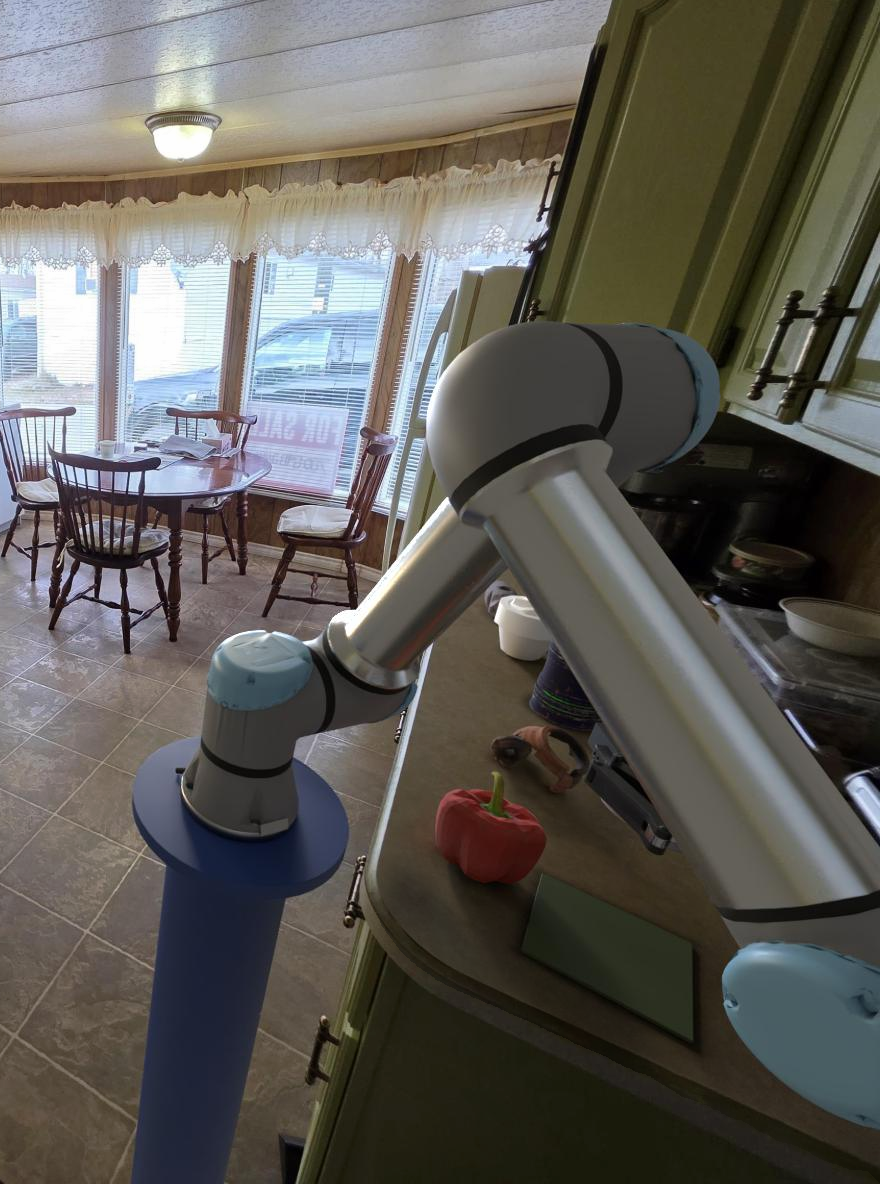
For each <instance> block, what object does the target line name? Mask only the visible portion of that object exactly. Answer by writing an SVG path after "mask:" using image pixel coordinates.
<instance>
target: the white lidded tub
mask: <svg viewBox="0 0 880 1184" xmlns="http://www.w3.org/2000/svg"><path fill="white" fill-rule="evenodd" d="M493 622H494V623H495V624H497V625H498V632H499V633H498V635H499V645H500V650H502V651H503V653H505V654H506V655H507V656H510V657H512V658H513V659H517V660H521V661H530V662H533V661H537V660H541V659H542V657H543V656H544V655H545V654H546V653H548V648H549V647H550V645H551V640H552V638H551V637H550V635H549V633H548V632H547V630H546V628H545V627H544V625H543V624H542V622H541V620H540V619H539V617H538V615H537V614H536V612H535V610H534V609H533V607H532V606H531V604H530V602H529V601H528V599H527V597H526V596H525V595H518V596H507V597H503V598H501V600H500V603H499V606H498V610H497V613H496V616H495V619H493Z"/></svg>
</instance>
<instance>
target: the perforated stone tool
mask: <svg viewBox="0 0 880 1184" xmlns="http://www.w3.org/2000/svg"><path fill="white" fill-rule="evenodd" d="M507 596H519V595H518V593H517V592H516V590H515V589H514V588H513V587H512V586H511V585H509V584H508V583H507V582H505V581H503V580H496V581H495V582H494V583H493V584H492V585H491V586H490V587H489V588H488V589H487V590H486V591H485V592H484V604H485V606H486V607H485V608H486V610H487V613H488V614H489V615H490V617H491V618H492V619H493V620H495V616H496V613H497V610H498V606H499V603H500V600H501V598H503V597H507Z"/></svg>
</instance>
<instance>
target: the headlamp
mask: <svg viewBox="0 0 880 1184" xmlns="http://www.w3.org/2000/svg"><path fill="white" fill-rule="evenodd" d="M548 737H551V738H553V739H556V740H558V741H560V742H562V743H564V744H566V745H568V749H569V752H568V755H569V756H570V757H572V758H573V759H574V761H575V764H576V767H577V768H574V769H573V770H572V771H571V772H570V766H569V765H568V764H566V763H565V762H564V761H563V760H561V759H560V758H559V757H558V755H557V754H556V753H555V752H554V751H553V749H552V747H551V746H550V743H549V740H548ZM490 750H491V753H492V755H493V757H494V759H495V760H496V761H497V762H499V763H500V764H501V766H503V767H504V768H506V769H507V770H509V769H511V768H513V766H514V765H515V764H516V763H518V762H520V761H521V760H523V759H527V758H528V757H529V755H530V754H531V753H532V751H533V750H535V751H536V752H534V754H533V756H534V757H535V758H536V759H538V760H539V761H540V763H541V764H542V765H543V766H544V767H546V768H547V769H548V770H549V771H550V772H551V773H552V774H553V775H554V776H555V777H556V778H558V780H557V781H556V782H555V783H554V784H553V785H551V786H550V787H549V791H550V792H552V793H554V794H560V793H564V792H566V791H567V790H568V789H569V790H571V789H573V788H575V787H576V786H577V785H578V784H579V783H580V782H581V780H582V778H583V776H585V775H586V773H587V771H588V768H589V766H590V764H591V760H590V759H589V755H588V753H587V751H586V748H584V746H583V745H582V744H581V742H580V741H579V740H578V739H577V738H576V737H575V736H574V735H573V734H572V733H570V732H569V731H567V730H566V729H564V728H562V727H560V726H559V725H558V726H557V725H552V724H548V725H545V726H537V725H534V726H531V725H530V726H525V727H522V728H520V729H516V730H515V731H514V732H513V733H512V734H508V735H501V736H497V737H496V738H494V739H493V740H492V741H491V746H490ZM568 772H570V773H568Z"/></svg>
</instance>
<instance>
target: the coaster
mask: <svg viewBox="0 0 880 1184" xmlns="http://www.w3.org/2000/svg"><path fill="white" fill-rule="evenodd" d="M520 952H521V953H522V954H524V955H526V956H528V957H530V958H532V959H534V961H535V960H536V961H537V962H539V963H541V964H543V965H545V966H546V967H548V968H550V969H551V970H553V971H555V972H558V973H559V974H561V975H563V976H565V977H567V978H569V979H571V980H572V981H575V982H576V983H578V984H580V985H582V986H583V987H585V988H587V989H589V990H591V991H593V992H595V993H596V994H598V995H600V996H602V997H604V998H605V999H608V1000H610V1001H611V1002H613V1003H615V1004H617V1005H619V1006H621V1007H622V1008H624V1009H626V1010H628V1011H630V1012H631V1013H634V1014H635V1015H637V1016H639V1017H641V1018H643V1019H644V1020H646V1021H648V1022H650V1023H652V1024H654V1025H656V1026H657V1027H659V1028H661V1029H663V1030H665V1031H667V1032H669V1033H670V1034H672V1035H674V1036H676V1037H678V1038H680V1039H681V1040H683V1041H685V1042H687V1043H689V1044H691V1045H693V1043H694V982H693V979H694V978H693V977H694V976H693V974H694V968H693V965H694V964H693V943H692V942H690V941H689V940H687V939H684V938H683V937H680V936H678V935H675V934H673V933H671V932H669V931H667V930H665V929H663V928H660V927H659V926H656V925H654V924H653V923H650V922H648V921H646V920H643V919H642V918H640V917H637V916H636V915H633V914H631V913H629V912H626V911H625V910H622V909H620V908H618V907H616V906H614V905H613V904H610V903H607V902H605V901H603V900H601V899H600V898H599V899H598V898H597V897H595V896H592V895H590V894H588V893H586V892H584V891H582V890H581V889H578V888H575V887H573V886H571V885H569V884H567V883H565V882H563V881H560V880H558V879H556V878H554V877H552V876H550V875H547V874H546V873H544V872H541V875H540V878H539V882H538V886H537V890H536V894H535V898H534V902H533V905H532V909H531V913H530V915H529V920H528V924H527V928H526V931H525V935H524V939H523V943H522V946H521V950H520Z"/></svg>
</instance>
